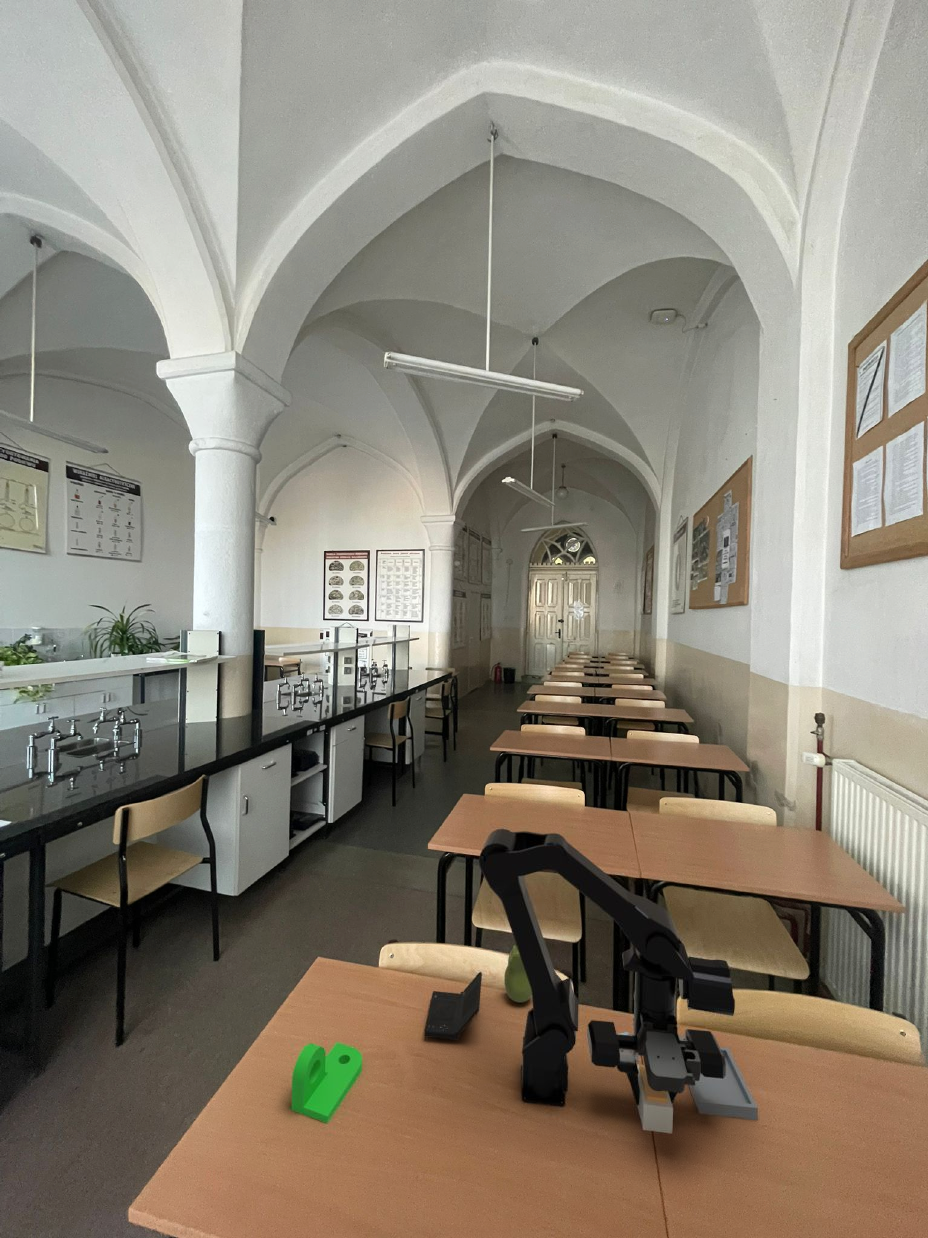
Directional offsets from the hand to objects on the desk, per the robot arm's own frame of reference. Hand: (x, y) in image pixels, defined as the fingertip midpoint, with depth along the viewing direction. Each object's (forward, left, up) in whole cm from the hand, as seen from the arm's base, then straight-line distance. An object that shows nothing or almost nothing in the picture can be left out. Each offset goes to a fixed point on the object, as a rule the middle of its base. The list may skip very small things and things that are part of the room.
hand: (652, 1104), depth 81 cm
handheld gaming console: (-34, +14, -2) cm, 37 cm away
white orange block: (0, 0, -1) cm, 1 cm away
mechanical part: (-48, -2, -2) cm, 48 cm away
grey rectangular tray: (+11, +6, -1) cm, 13 cm away
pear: (-20, +21, -1) cm, 29 cm away
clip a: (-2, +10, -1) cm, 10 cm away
